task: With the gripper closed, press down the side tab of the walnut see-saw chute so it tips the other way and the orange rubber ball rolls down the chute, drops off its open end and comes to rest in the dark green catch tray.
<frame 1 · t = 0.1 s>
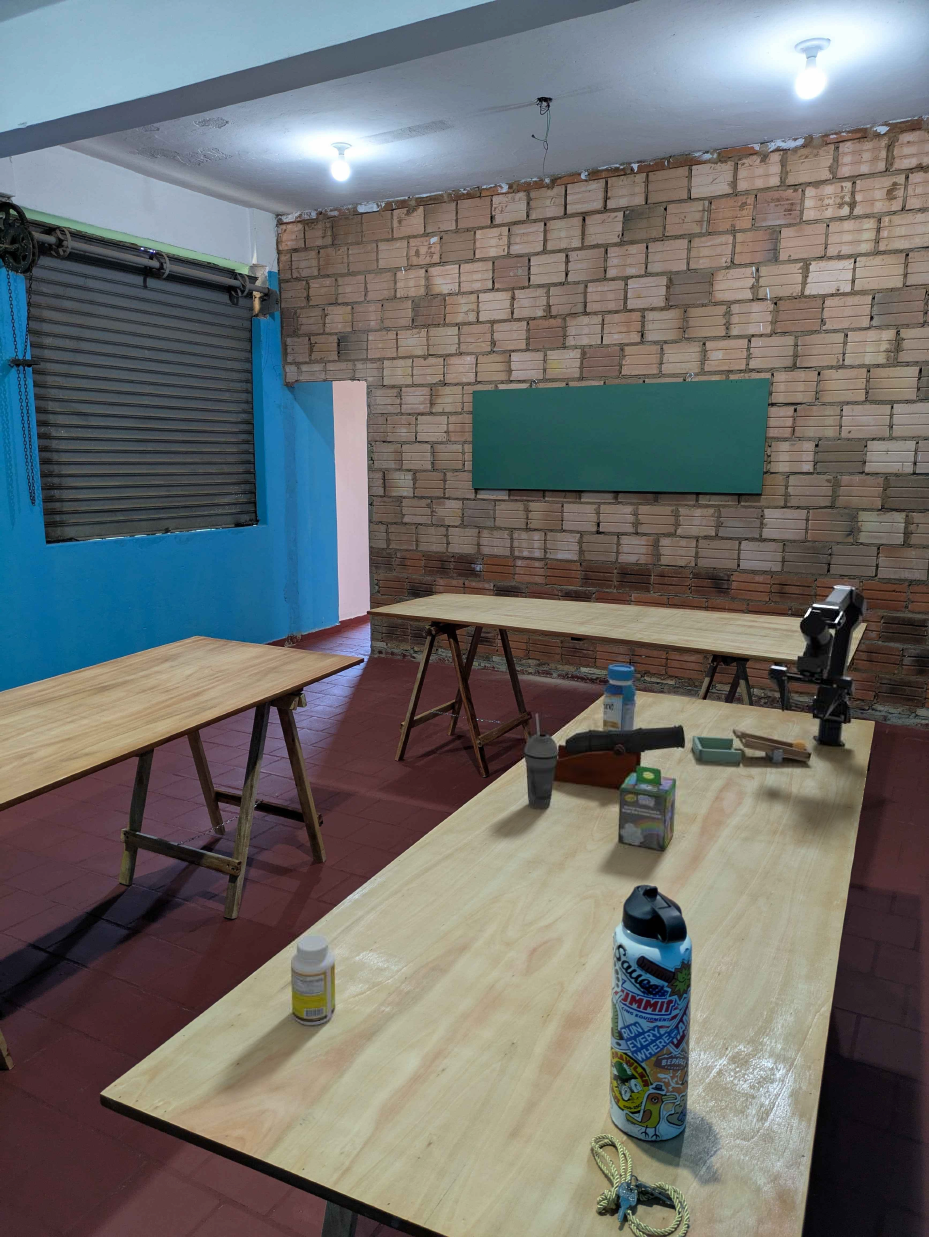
hand: (803, 714, 197), 15 cm above the table, tool tilted 30°, fingers open, 9 cm apart
beverage bottle: (617, 741, 223), on the table
supplement bottle: (313, 1015, 111), on the table
chalk box: (645, 839, 165), on the table
tray: (715, 755, 213), on the table
chute: (770, 742, 214), point 3 cm above the table, hinge at -10.0°, touching ball
cannon model: (615, 782, 194), on the table
fulcrum: (773, 758, 211), on the table
ball: (799, 746, 210), point 3 cm above the table, tilted 7°, touching chute
beverage cup: (539, 805, 180), on the table
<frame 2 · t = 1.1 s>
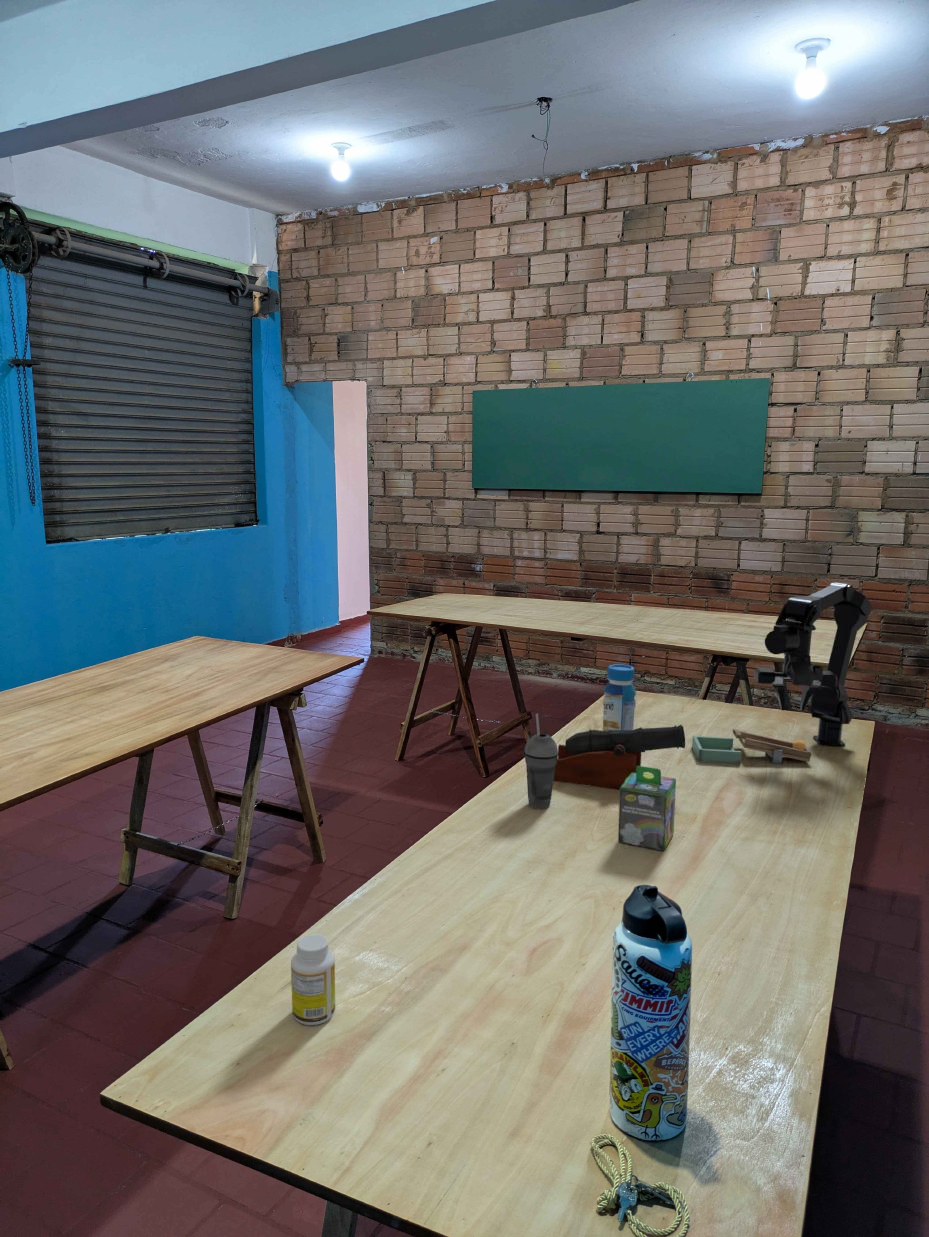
hand: (791, 710, 211), 12 cm above the table, tool pointing down, fingers open, 4 cm apart
nothing on the table moved.
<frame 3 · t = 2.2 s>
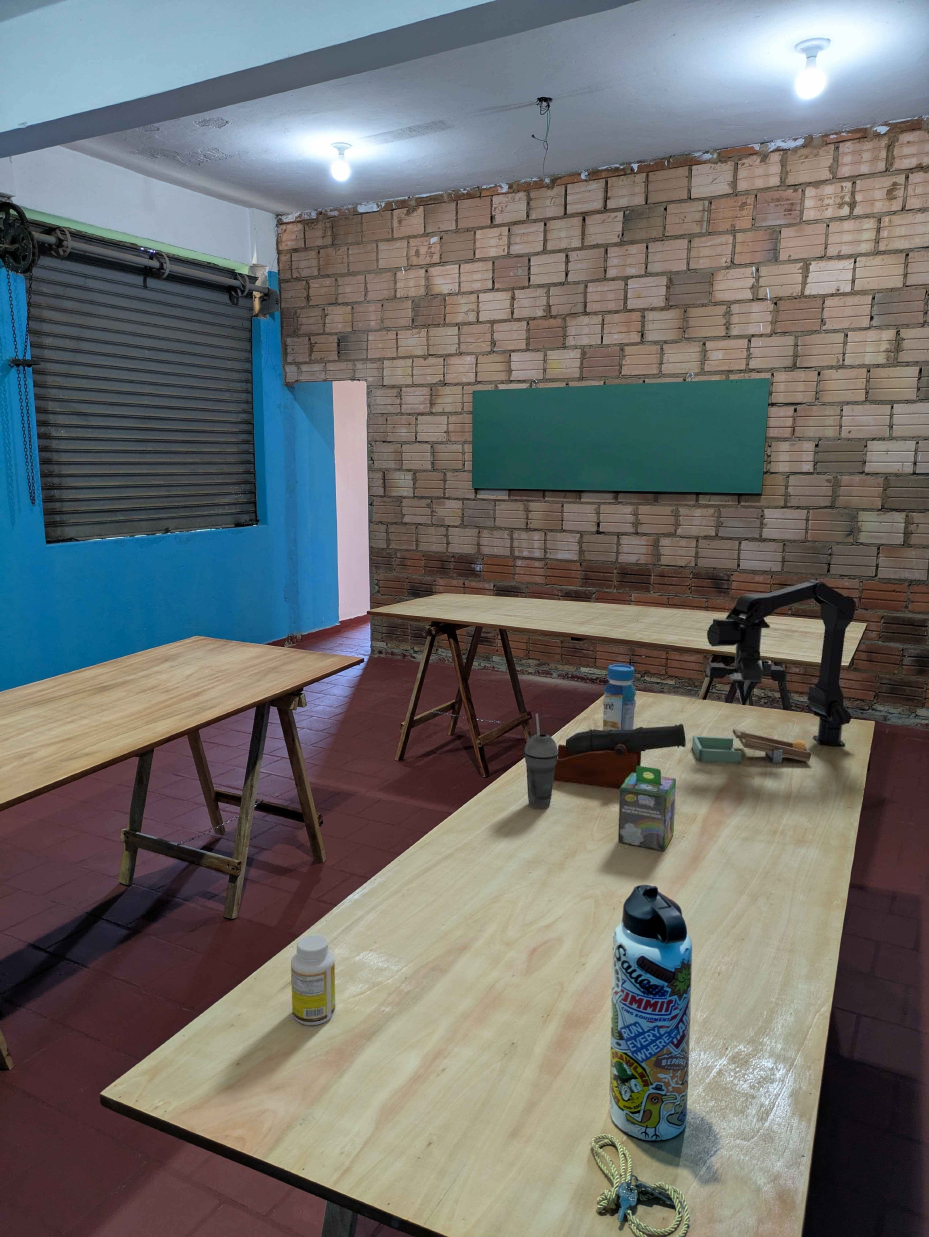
hand: (743, 704, 216), 12 cm above the table, tool pointing down, fingers closed
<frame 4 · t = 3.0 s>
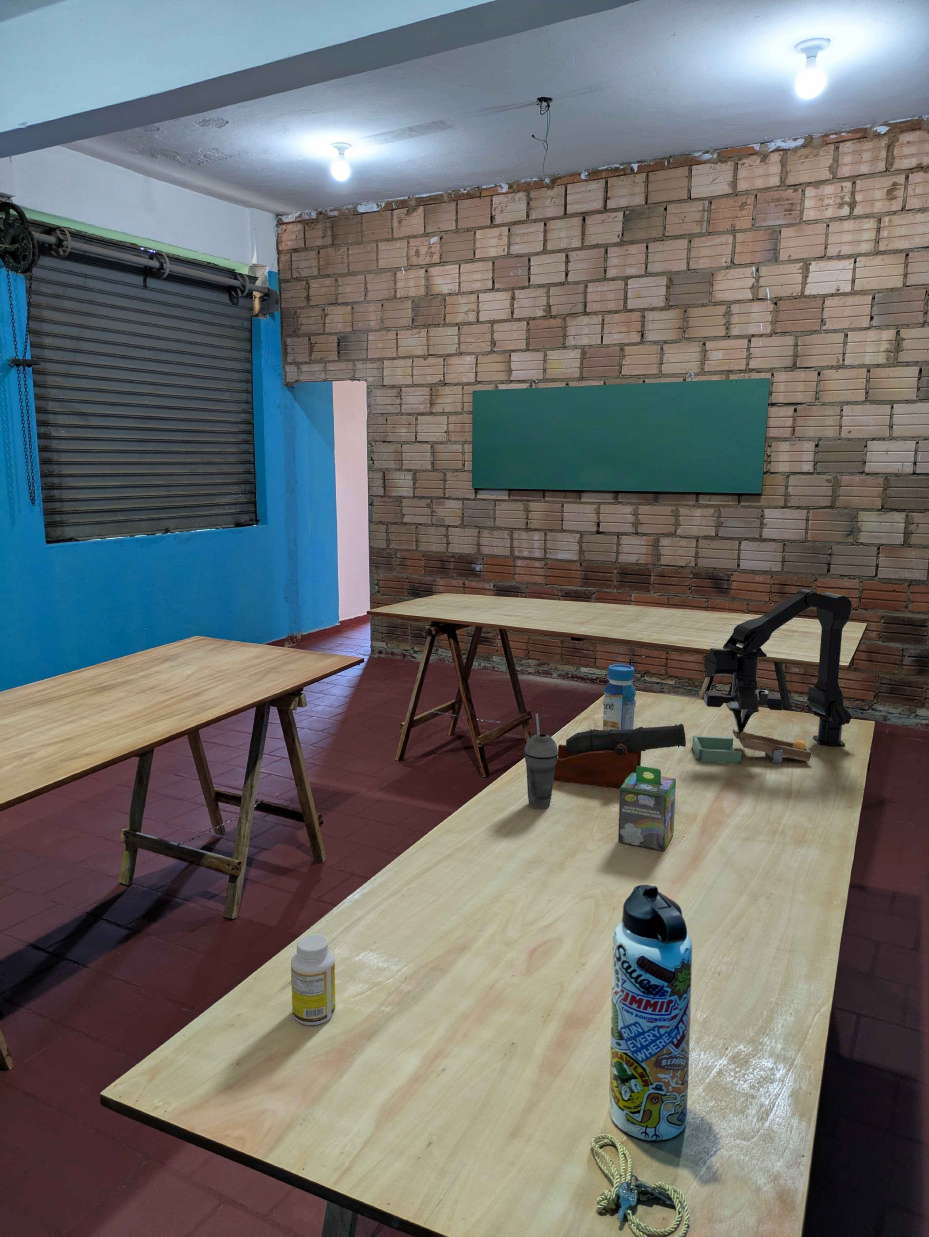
hand: (740, 732, 218), 4 cm above the table, tool pointing down, fingers closed, pressing on chute
chute: (770, 742, 214), point 3 cm above the table, hinge at -9.4°, touching ball, gripper
everything else where it was.
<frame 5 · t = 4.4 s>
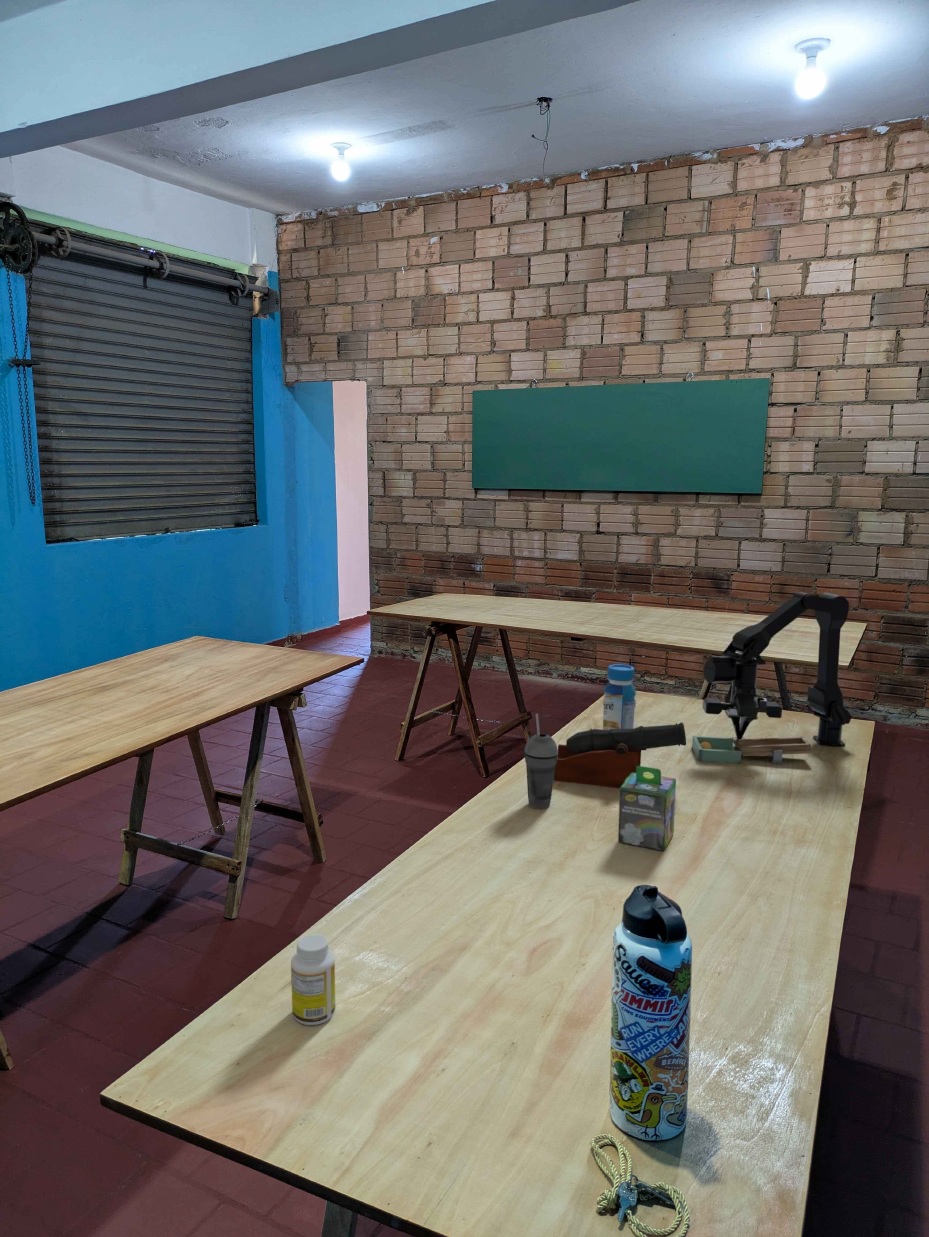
hand: (738, 740, 218), 2 cm above the table, tool pointing down, fingers closed, pressing on chute
chute: (770, 742, 214), point 3 cm above the table, hinge at 5.8°, touching gripper
ball: (705, 747, 213), point 2 cm above the table, tilted 159°, touching tray
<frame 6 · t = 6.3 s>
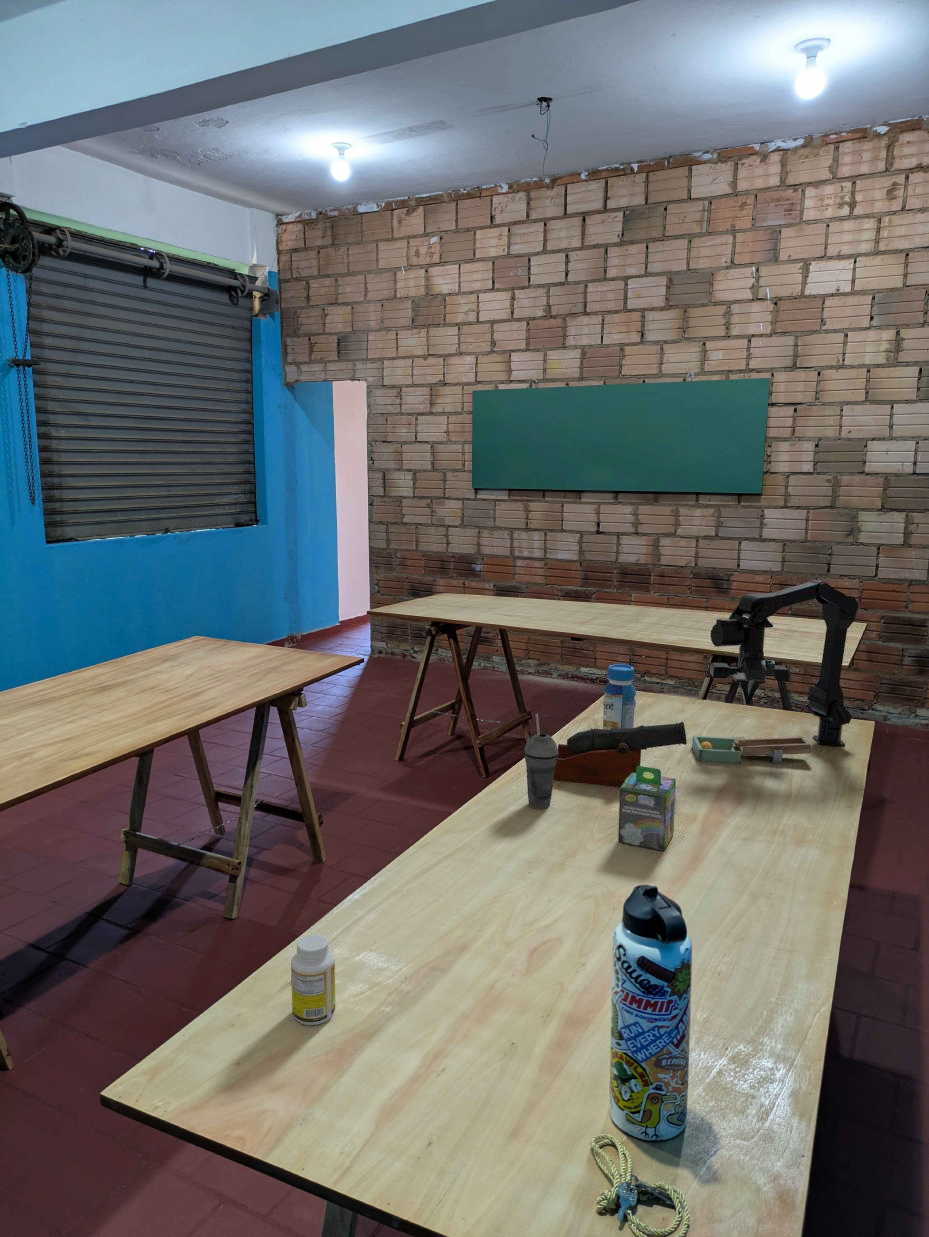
hand: (747, 704, 216), 12 cm above the table, tool pointing down, fingers closed
chute: (770, 742, 214), point 3 cm above the table, hinge at 5.8°
ball: (706, 747, 213), point 2 cm above the table, tilted 151°, touching tray
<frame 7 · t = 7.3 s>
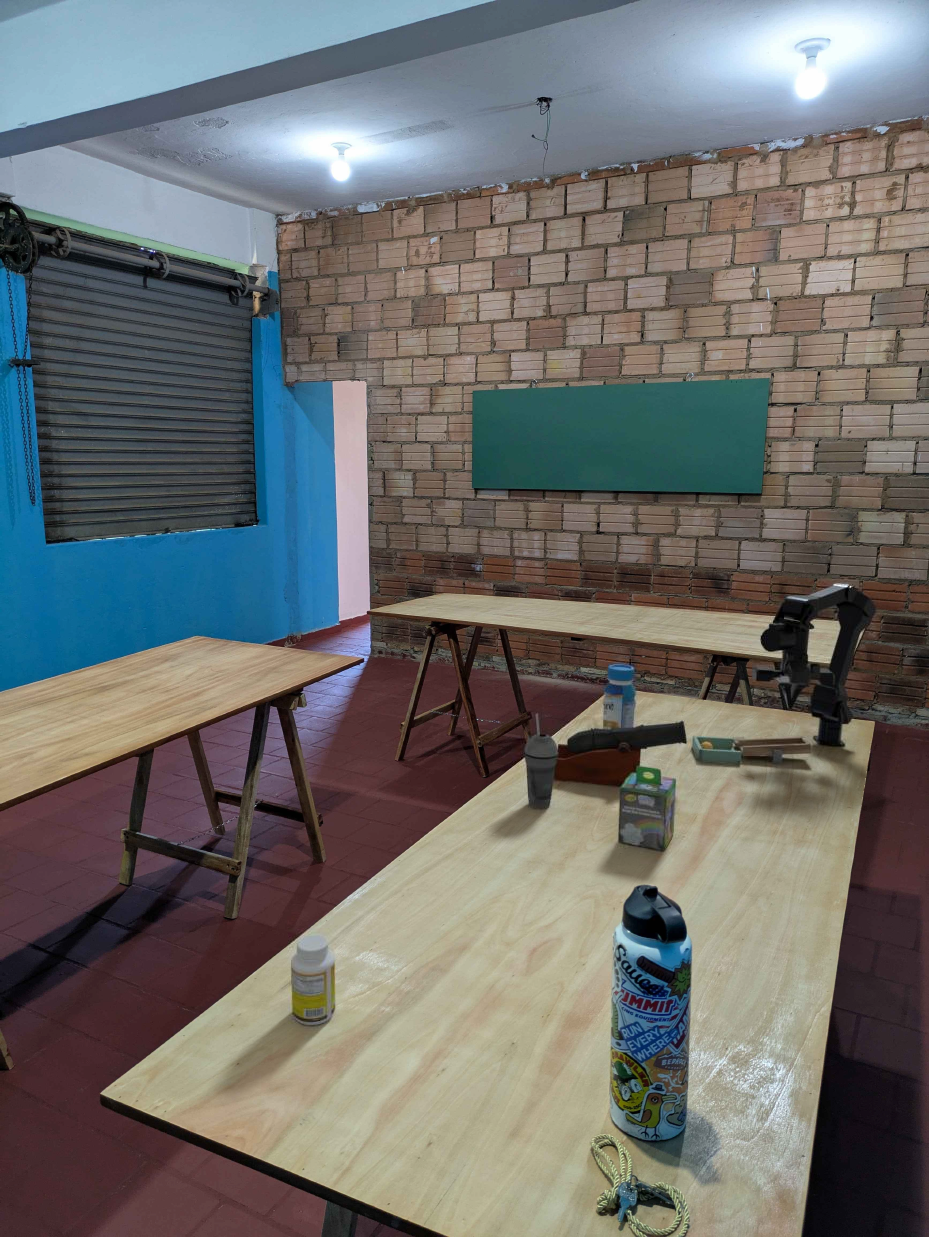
hand: (789, 708, 213), 12 cm above the table, tool pointing down, fingers closed
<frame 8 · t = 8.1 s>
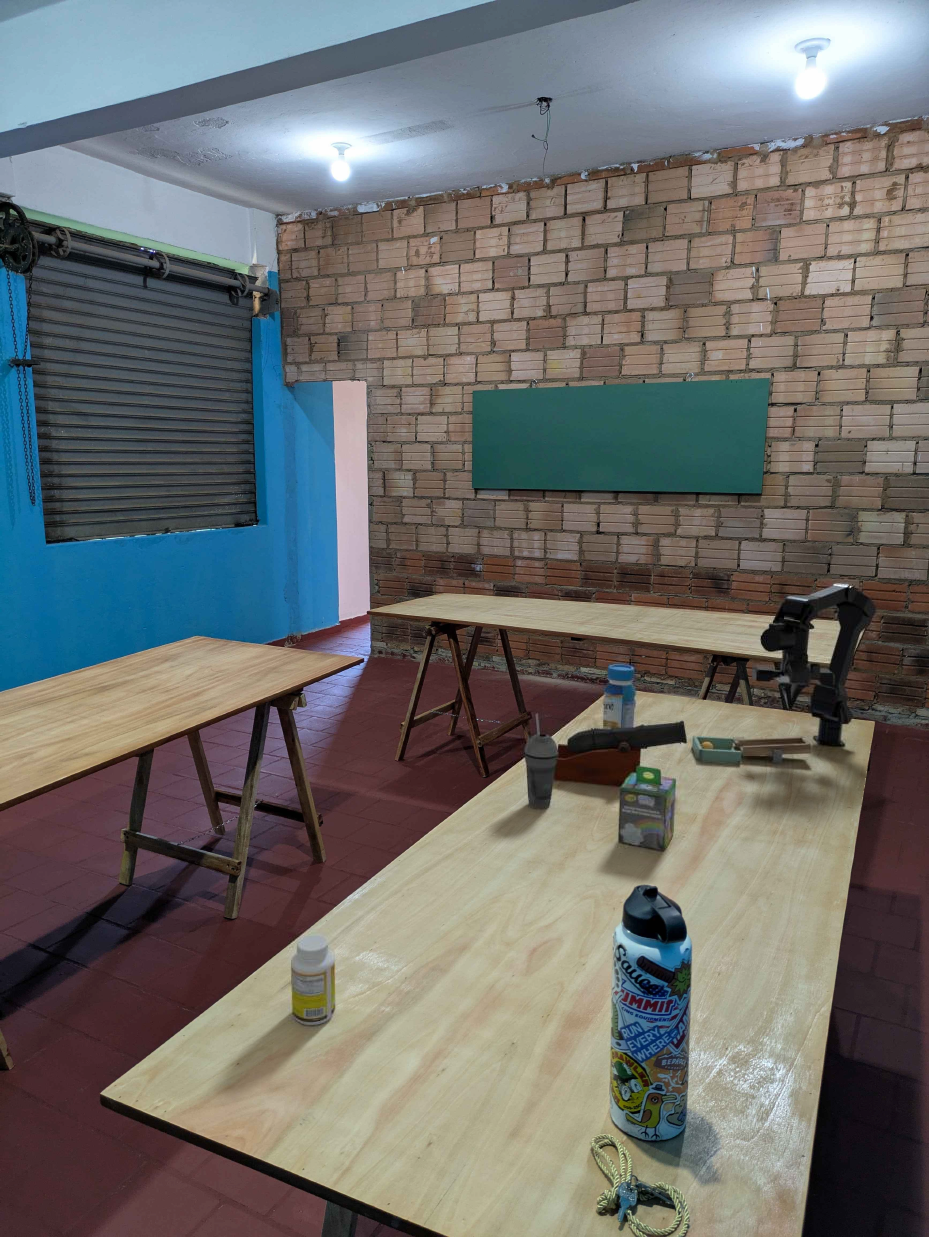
hand: (789, 708, 213), 12 cm above the table, tool pointing down, fingers closed
at the end: ball inside the target area on the tray (2.2 cm from its centre), point 1.8 cm above the tray's base; chute at +6° (first picture: -10°) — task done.
